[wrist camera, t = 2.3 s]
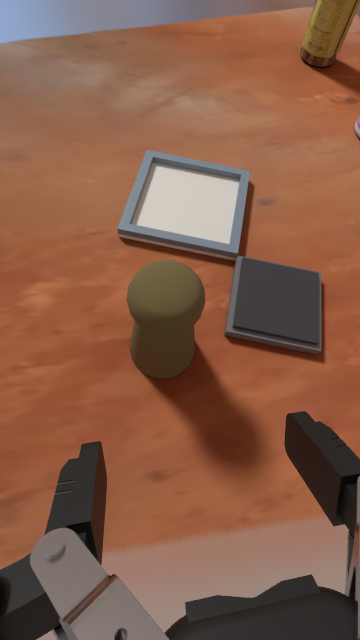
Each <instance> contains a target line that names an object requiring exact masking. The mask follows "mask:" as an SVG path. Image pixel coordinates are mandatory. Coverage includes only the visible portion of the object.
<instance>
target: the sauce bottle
mask: <svg viewBox="0 0 360 640" xmlns="http://www.w3.org/2000/svg"><path fill="white" fill-rule="evenodd" d="M359 4H360V0H316V2H315V6H314V9H313V12H312V15H311V18H310V21H309V24H308V27H307V30H306V33H305V36H304V40H303V43H302V48H301V51H300V52H301V57H302V59H303V60H304V61H305V62H307V63H308V64H310V65H312V66H315V67H323V66H324V67H326V66H330V65H331V64H332V63H333V62H334V60H335V58H336V56H337V53H339V51H340V49H341V46H342V44H343V42H344V39H345V37H346V35H347V32H348V30H349V28H350V25H351V23H352V20H353V18H354V16H355V13H356V11H357V8H358V6H359Z"/></svg>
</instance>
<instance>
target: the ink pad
mask: <svg viewBox="0 0 360 640" xmlns="http://www.w3.org/2000/svg"><path fill="white" fill-rule="evenodd" d="M224 335H225V336H230V337H235V338H239V339H244V340H249V341H254V342H258V343H263V344H268V345H272V346H277V347H282V348H287V349H291V350H296V351H301V352H306V353H310V354H315V355H317V354H318V353H320V352H321V272H316V271H311V270H306V269H301V268H297V267H292V266H287V265H282V264H277V263H272V262H267V261H263V260H258V259H253V258H248V257H243V256H238V255H237V258H236V260H235V266H234V273H233V279H232V286H231V293H230V300H229V306H228V313H227V320H226V327H225V333H224Z"/></svg>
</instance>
